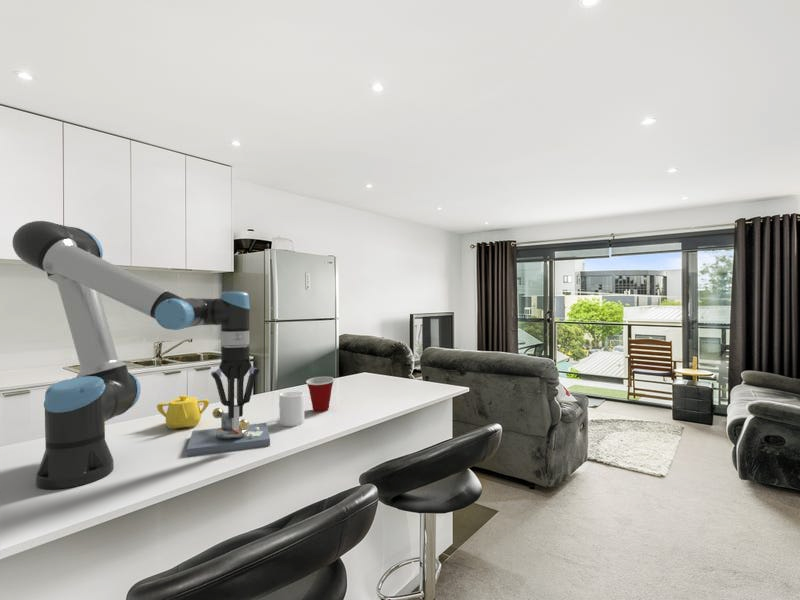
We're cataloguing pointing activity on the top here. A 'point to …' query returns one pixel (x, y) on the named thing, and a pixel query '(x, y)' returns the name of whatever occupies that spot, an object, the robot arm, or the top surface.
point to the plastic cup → (320, 392)
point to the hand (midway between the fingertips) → (235, 428)
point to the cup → (291, 408)
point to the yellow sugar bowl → (183, 411)
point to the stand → (227, 440)
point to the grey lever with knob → (229, 426)
